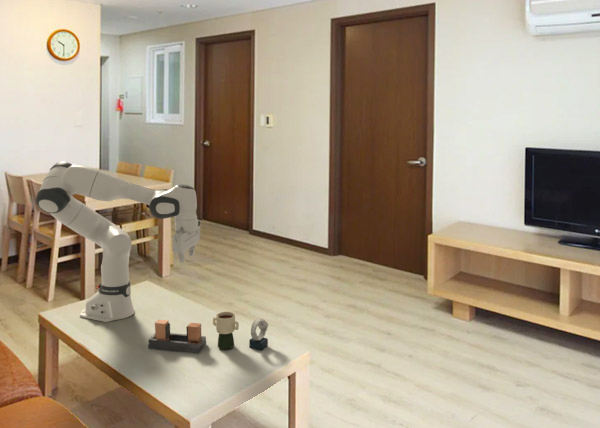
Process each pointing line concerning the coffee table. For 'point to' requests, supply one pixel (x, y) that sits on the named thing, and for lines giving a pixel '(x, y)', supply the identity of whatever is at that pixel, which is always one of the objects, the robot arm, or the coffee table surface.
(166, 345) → the dark grey tray
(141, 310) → the coffee table surface
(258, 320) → the watch
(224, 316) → the character mug
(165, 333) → the orange block
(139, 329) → the coffee table surface
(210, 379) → the coffee table surface
